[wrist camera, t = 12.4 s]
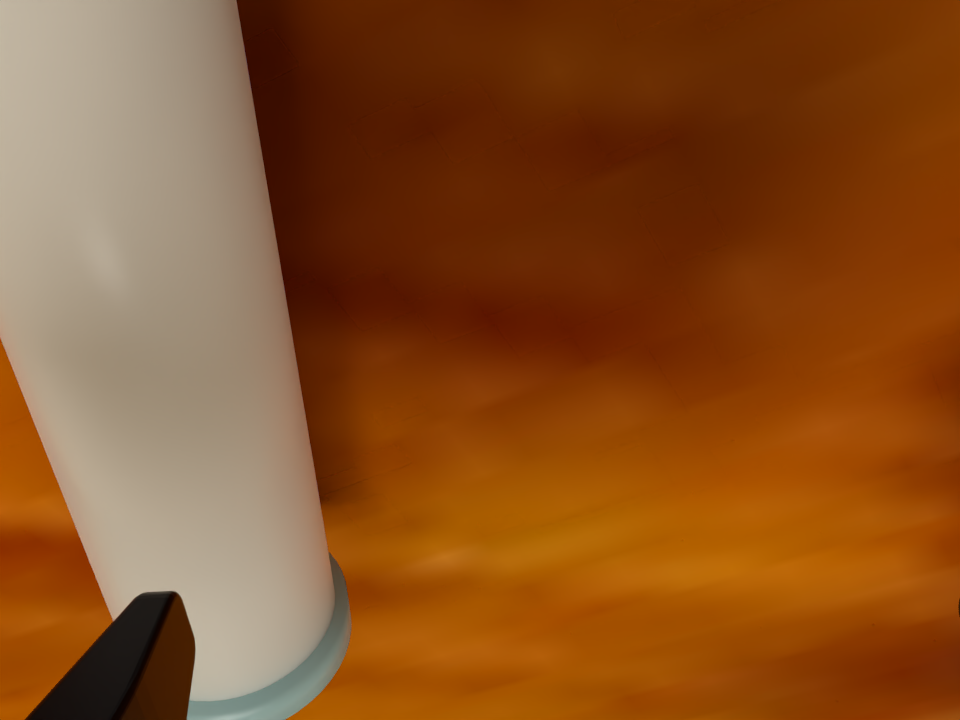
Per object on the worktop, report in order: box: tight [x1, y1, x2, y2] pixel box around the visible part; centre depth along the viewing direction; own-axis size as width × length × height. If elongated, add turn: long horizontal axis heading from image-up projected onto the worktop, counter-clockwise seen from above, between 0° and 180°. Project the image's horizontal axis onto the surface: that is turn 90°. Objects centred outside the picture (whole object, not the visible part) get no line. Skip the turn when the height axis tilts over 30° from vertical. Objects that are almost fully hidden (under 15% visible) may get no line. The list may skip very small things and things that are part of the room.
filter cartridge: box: [0, 0, 351, 720], centre depth 17 cm, size 6×18×6 cm, turn 1°
